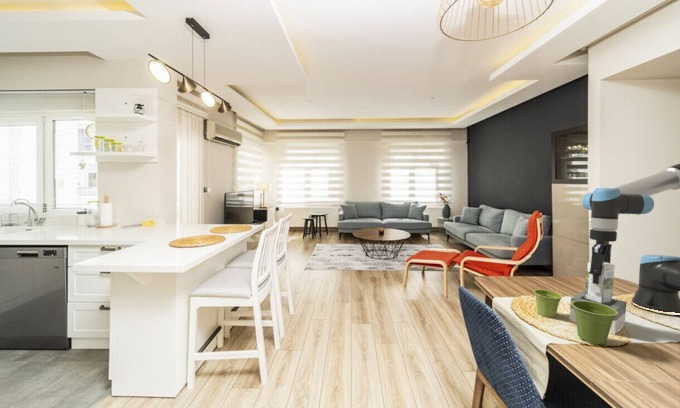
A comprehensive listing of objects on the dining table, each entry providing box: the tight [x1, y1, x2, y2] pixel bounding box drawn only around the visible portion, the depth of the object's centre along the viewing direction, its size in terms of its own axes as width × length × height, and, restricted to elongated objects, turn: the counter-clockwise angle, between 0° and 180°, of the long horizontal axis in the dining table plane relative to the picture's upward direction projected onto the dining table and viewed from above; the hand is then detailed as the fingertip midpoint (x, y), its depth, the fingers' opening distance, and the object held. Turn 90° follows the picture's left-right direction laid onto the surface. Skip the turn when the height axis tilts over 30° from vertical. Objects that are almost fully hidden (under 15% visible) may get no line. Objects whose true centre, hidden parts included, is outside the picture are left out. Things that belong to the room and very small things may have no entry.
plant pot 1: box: [533, 289, 563, 318], centre depth 118 cm, size 9×9×9 cm
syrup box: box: [584, 261, 616, 304], centre depth 111 cm, size 6×6×14 cm
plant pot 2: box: [570, 301, 618, 346], centre depth 99 cm, size 12×12×11 cm
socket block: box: [569, 291, 627, 335], centre depth 111 cm, size 13×13×9 cm
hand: (598, 290), depth 111 cm, fingers closed on syrup box, 7 cm apart
